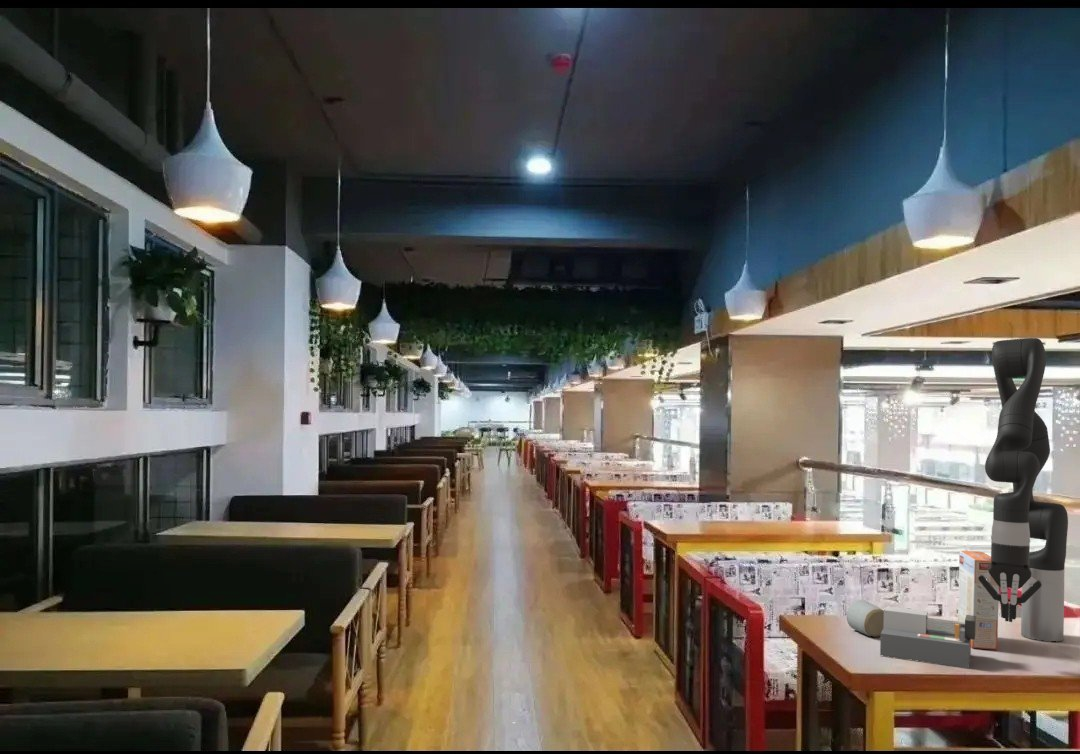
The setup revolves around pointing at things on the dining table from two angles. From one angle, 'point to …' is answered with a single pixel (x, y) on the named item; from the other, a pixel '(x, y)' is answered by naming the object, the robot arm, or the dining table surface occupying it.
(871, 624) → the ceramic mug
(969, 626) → the plunger
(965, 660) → the gauge housing
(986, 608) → the cracker box
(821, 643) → the dining table surface
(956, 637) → the orange rectangular prism
